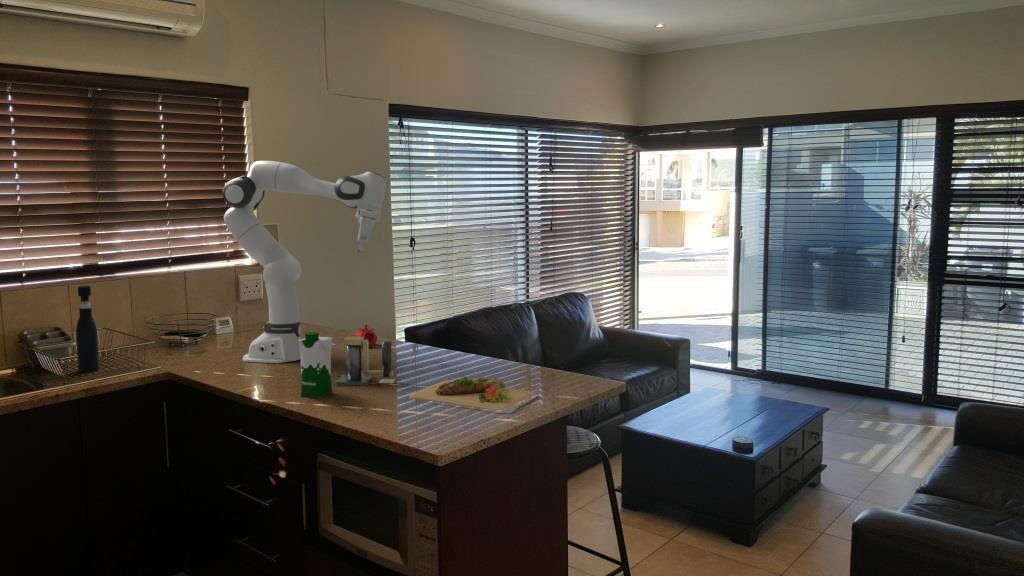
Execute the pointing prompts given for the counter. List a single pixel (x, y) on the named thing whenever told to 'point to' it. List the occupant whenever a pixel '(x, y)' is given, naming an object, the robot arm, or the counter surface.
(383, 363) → the lever
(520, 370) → the counter surface
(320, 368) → the milk carton
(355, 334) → the pomegranate
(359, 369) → the post
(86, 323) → the dark blue bottle
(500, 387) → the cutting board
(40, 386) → the counter surface
